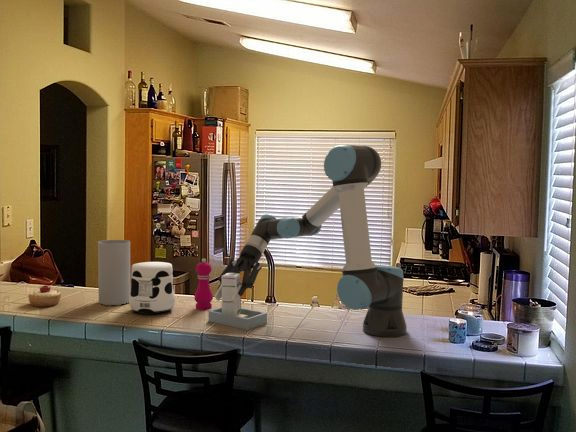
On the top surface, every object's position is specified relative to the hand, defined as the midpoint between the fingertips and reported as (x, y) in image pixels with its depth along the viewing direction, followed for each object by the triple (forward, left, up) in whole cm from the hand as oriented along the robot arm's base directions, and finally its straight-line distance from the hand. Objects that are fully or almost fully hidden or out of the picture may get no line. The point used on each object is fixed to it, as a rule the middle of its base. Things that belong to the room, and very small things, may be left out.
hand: (225, 300), depth 209 cm
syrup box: (0, -4, -6) cm, 7 cm away
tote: (-3, -3, -9) cm, 10 cm away
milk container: (+35, +2, -9) cm, 36 cm away
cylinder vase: (+57, +2, -9) cm, 58 cm away
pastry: (+76, +21, -9) cm, 79 cm away
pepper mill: (+22, -13, -9) cm, 27 cm away
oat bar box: (-3, -3, -8) cm, 9 cm away
